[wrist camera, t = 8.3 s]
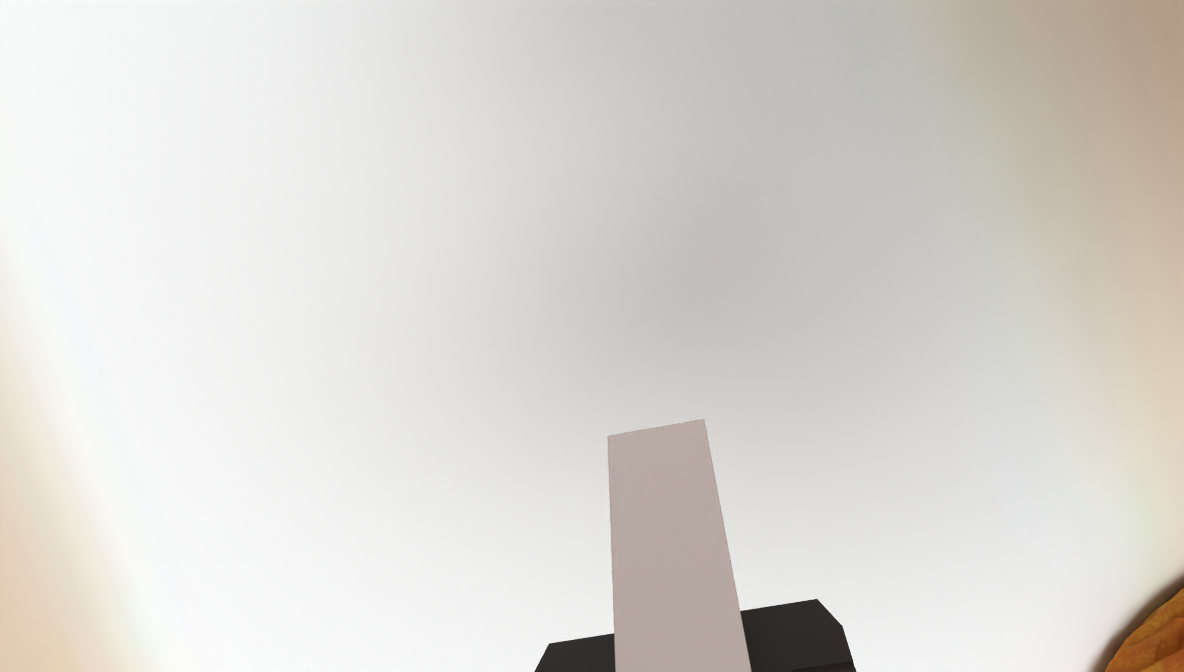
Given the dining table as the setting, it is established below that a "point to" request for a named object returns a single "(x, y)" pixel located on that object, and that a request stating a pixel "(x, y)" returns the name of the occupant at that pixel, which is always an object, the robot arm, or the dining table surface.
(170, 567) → the dining table surface
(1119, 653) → the croissant
